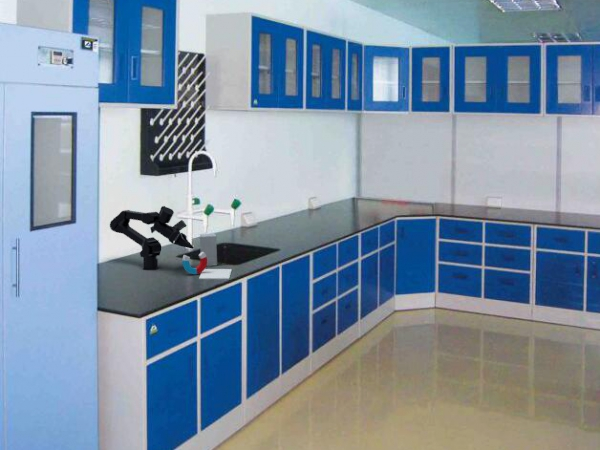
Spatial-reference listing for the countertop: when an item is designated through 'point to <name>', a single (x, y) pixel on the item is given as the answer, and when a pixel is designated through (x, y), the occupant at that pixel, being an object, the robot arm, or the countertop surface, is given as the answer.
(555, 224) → the countertop surface
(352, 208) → the countertop surface
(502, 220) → the countertop surface
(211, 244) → the skincare box
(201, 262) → the magnet
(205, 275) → the white paper sheet
